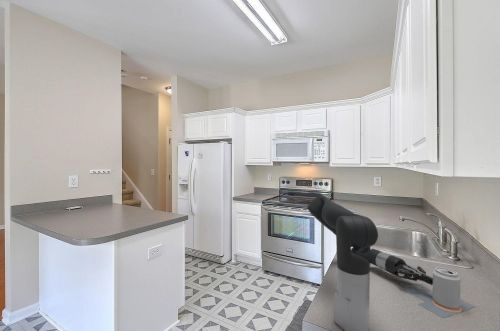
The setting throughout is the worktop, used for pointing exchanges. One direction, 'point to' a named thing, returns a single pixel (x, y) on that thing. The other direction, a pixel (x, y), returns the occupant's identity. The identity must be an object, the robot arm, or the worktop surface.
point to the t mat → (431, 304)
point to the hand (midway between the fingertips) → (433, 282)
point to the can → (446, 288)
